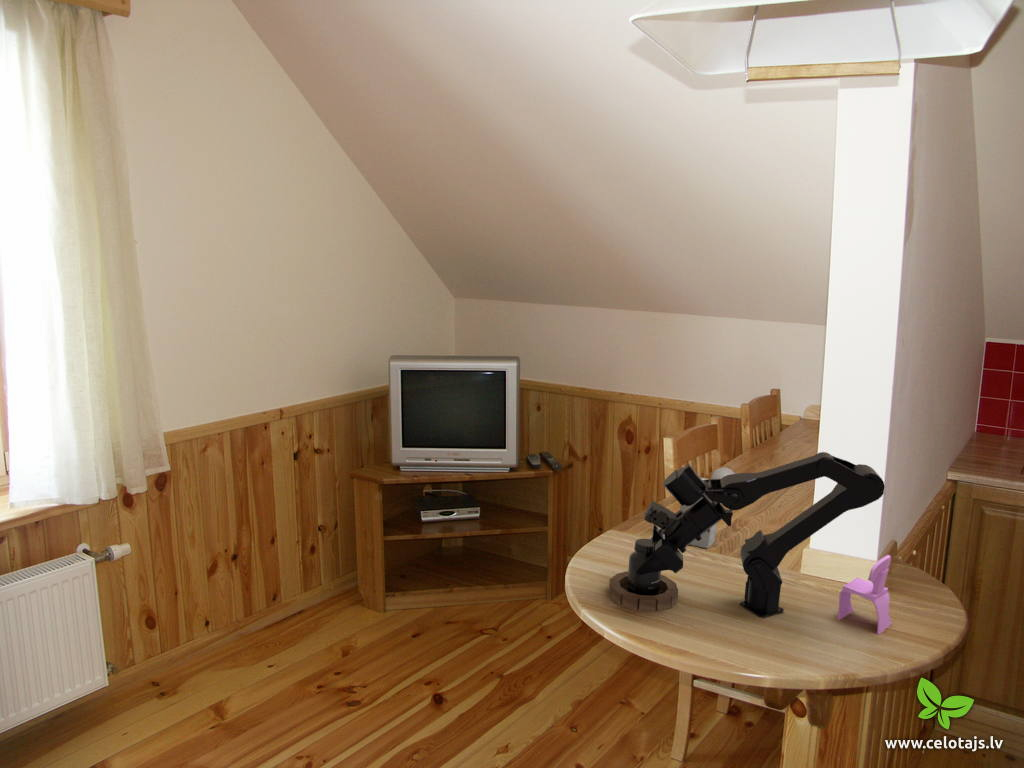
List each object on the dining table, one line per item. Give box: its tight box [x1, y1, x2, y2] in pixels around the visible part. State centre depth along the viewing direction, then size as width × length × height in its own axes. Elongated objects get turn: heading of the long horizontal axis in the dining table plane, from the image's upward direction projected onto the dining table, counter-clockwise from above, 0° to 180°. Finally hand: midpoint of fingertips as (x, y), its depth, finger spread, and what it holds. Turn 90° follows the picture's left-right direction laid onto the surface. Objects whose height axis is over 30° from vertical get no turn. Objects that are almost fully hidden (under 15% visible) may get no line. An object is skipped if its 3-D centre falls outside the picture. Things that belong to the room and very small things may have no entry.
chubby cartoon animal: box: [710, 466, 736, 479], centre depth 239 cm, size 7×12×8 cm, turn 86°
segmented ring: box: [608, 570, 679, 613], centre depth 174 cm, size 14×14×2 cm
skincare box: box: [679, 477, 718, 549], centre depth 203 cm, size 8×7×16 cm
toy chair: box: [837, 554, 893, 636], centre depth 164 cm, size 8×9×15 cm
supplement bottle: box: [626, 538, 662, 596], centre depth 173 cm, size 7×7×12 cm
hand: (638, 565), depth 173 cm, fingers closed on supplement bottle, 7 cm apart
